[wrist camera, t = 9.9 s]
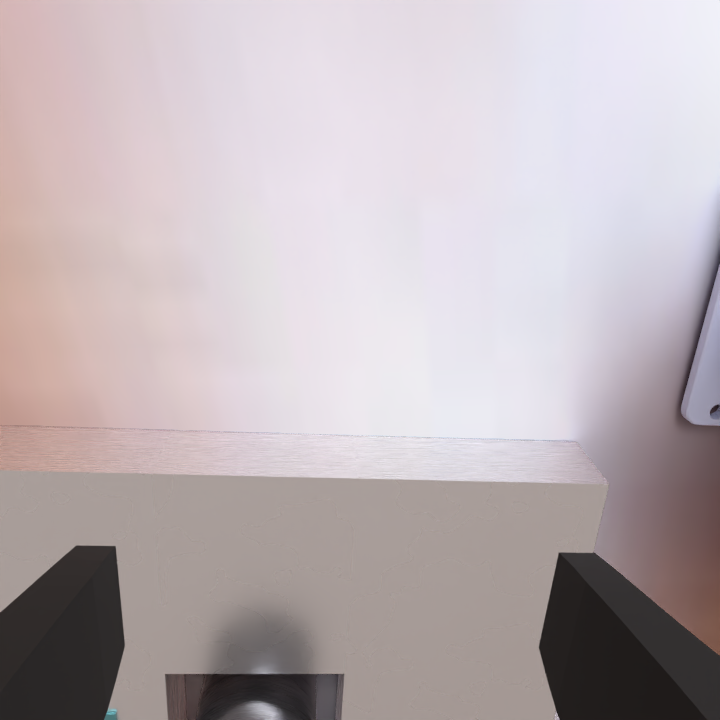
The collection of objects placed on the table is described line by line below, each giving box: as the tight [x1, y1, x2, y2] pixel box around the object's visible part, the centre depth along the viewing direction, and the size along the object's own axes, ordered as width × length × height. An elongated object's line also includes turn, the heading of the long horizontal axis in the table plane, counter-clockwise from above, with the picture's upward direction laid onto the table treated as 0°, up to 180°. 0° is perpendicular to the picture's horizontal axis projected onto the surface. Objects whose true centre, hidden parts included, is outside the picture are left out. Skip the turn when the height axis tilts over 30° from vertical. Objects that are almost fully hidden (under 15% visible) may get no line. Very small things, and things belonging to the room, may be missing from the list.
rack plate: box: [0, 426, 609, 720], centre depth 21 cm, size 20×16×3 cm
